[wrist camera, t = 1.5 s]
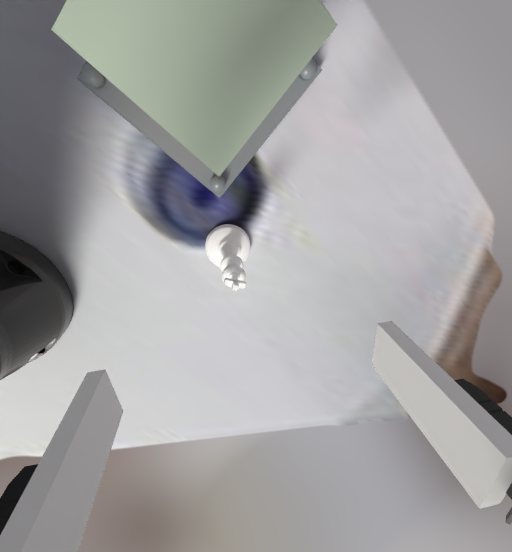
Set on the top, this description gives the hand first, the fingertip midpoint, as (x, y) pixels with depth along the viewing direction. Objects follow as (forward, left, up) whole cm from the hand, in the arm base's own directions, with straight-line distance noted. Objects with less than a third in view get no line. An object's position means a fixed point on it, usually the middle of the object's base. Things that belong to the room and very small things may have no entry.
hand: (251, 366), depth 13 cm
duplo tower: (-3, +15, -19) cm, 24 cm away
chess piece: (0, 0, -19) cm, 19 cm away
